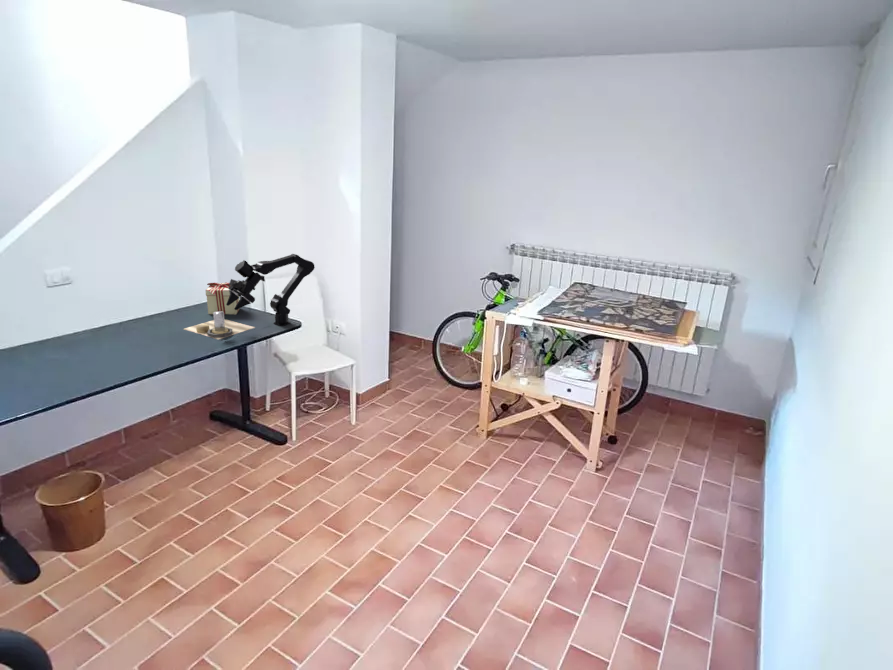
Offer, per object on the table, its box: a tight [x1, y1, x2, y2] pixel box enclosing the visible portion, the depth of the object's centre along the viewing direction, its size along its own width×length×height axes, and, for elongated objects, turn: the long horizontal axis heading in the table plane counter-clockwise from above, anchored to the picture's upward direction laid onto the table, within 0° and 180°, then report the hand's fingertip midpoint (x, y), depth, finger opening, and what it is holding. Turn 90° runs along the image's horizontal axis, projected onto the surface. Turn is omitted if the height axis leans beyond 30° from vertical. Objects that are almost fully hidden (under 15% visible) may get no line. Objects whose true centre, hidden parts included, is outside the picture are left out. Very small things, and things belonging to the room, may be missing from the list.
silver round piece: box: [212, 311, 228, 334], centre depth 275 cm, size 8×8×11 cm
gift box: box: [205, 282, 240, 316], centre depth 309 cm, size 17×18×17 cm
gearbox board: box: [184, 318, 256, 342], centre depth 284 cm, size 23×26×4 cm
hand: (231, 307), depth 277 cm, fingers open, 9 cm apart
